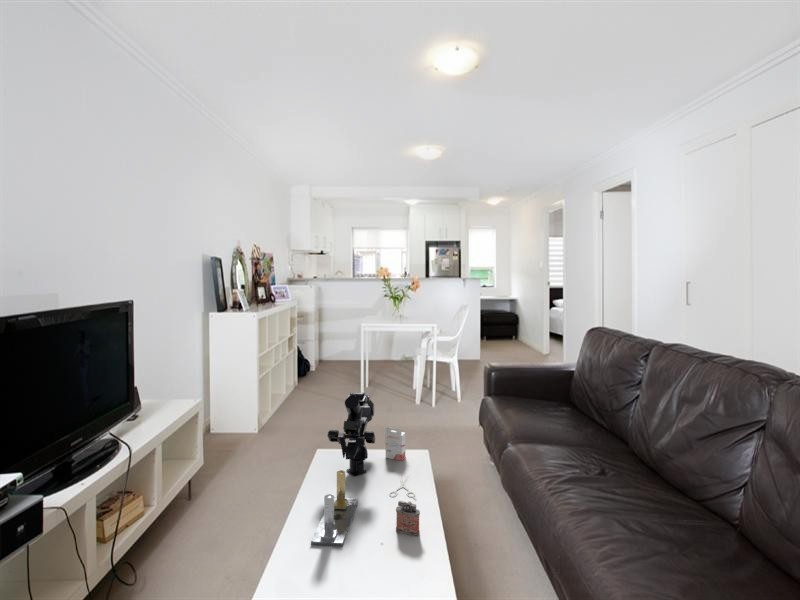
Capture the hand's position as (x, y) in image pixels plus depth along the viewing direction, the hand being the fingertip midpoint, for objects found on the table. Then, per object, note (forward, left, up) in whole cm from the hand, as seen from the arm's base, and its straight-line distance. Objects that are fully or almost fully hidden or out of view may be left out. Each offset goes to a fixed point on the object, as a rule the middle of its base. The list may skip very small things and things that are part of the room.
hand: (348, 457), depth 151 cm
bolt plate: (+13, -13, -14) cm, 23 cm away
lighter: (+33, +2, -14) cm, 36 cm away
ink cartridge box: (-12, +34, -14) cm, 38 cm away
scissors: (+10, +20, -14) cm, 26 cm away
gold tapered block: (+9, -9, -12) cm, 17 cm away
